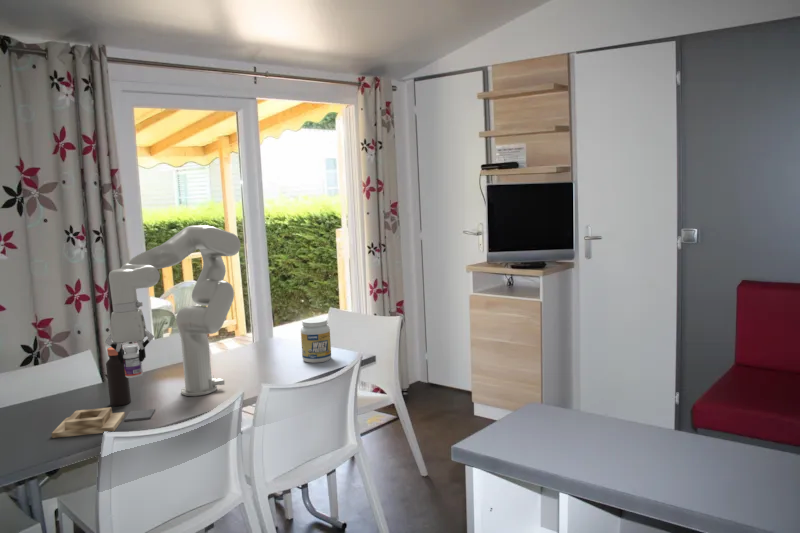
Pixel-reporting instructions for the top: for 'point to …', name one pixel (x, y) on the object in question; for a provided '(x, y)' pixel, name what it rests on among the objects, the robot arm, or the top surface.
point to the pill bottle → (132, 362)
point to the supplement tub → (315, 340)
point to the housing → (89, 422)
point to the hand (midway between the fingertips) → (132, 360)
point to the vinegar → (117, 380)
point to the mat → (139, 415)
